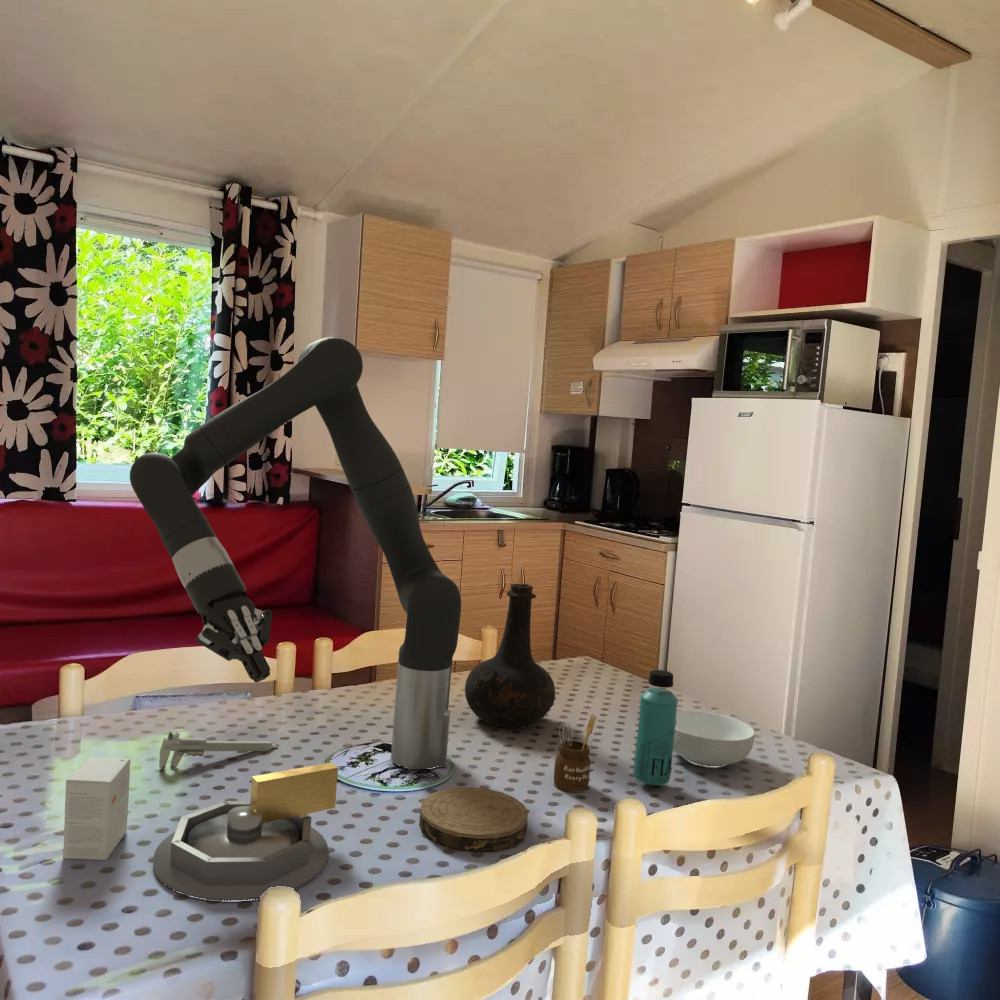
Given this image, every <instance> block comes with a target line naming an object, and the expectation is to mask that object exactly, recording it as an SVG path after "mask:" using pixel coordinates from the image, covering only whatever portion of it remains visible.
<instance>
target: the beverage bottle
mask: <svg viewBox="0 0 1000 1000" xmlns="http://www.w3.org/2000/svg"><path fill="white" fill-rule="evenodd" d="M647 682H648V684H649V685H651V686H653V687H652V688H648V689H647V690H645V691H644V692H643V693H641V695H640V704H639V705H640V706H639V714H638V715H639V718H638V727H637V728H638V729H637V735H636V740H635V747H634V749H635V751H634V757H633V776H634V778H635V779H636V780H637V781H639V782H641V783H643V784H648V785H650V786H662V785H666V784H668V783H669V782H670V779H671V776H672V770H673V767H672V765H673V753H674V752H673V744H674V738H675V737H674V733H675V732H676V730H675V723H676V711H678V710H677V707H678V702H679V700H678V698H677V696H676V695H675V694H674V693H673V692H672V691H671V690H667V688H673V687H674V674H673V672H671V671H667V670H663V669H652V670H650V672H649V678H648V681H647Z"/></svg>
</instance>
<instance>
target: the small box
mask: <svg viewBox="0 0 1000 1000" xmlns="http://www.w3.org/2000/svg"><path fill="white" fill-rule="evenodd" d="M130 773H131V758H124V757H106V756H105V757H104V756H102V757H101V756H88V757H87V758H86V759H85V760H84V761H83V762H82V763H81V764H80V765H79V766H78V768H76V770H75V771H74V772H73V773H72V774H71V775H70V776H69V777H68V778H67V779H66V780H65V802H64V803H65V806H64V825H63V826H64V829H63V850H62V851H63V852H62V854H63V855H62V858H63V859H65V860H66V859H67V860H72V859H73V860H93V861H107V860H108V858H109V857H110V855H111V854H112V853H113V852H114V850H115V848H116V847H117V845H119V843H120V841H121V840H122V838H123V837H124V836H125V834H126V833H127V830H128V816H129V815H128V814H129V812H128V811H129V795H130V794H129V793H130Z"/></svg>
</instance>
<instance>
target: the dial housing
mask: <svg viewBox="0 0 1000 1000" xmlns="http://www.w3.org/2000/svg"><path fill="white" fill-rule="evenodd" d="M250 801H251V800H250ZM250 801H249V800H242V801H241V800H224V801H221V802H218V803H216V804H215V803H214V804H213V805H210V806H207V807H205V808H202V809H200V810H197V811H195V812H192V813H188V814H186V815H183V816H181V817H180V820H179V822H178V825H177V827H176V829H175V831H173V832H172V833H171V834H169V835H168V836H166V837H165V838H164V839H163V840H162V841H161V842H159V844H158V845H157V847H156V849H155V850H154V854H153V858H152V864H153V865H152V866H153V867H152V869H153V872H154V875H155V877H156V878H157V880H158V879H159V880H160V881H161V882H162V883H163V884H165V885H166V886H168V887H170V888H171V889H174V890H175V891H178V892H181V893H184V894H186V895H189V896H190V895H191V896H194V897H198V898H203V899H204V898H205V899H207V900H208V899H209V900H211V899H212V900H220V901H222V900H224V901H225V900H227V901H228V900H230V901H231V900H244V899H245V900H248V899H249V900H250V899H255V900H256V899H258V901H260V900H259V899H260V896H261V895H262V894H263V893H264V892H265V891H266V890H267V889H268V888H270V887H276V886H286V887H291V888H294V889H296V890H298V889H301V888H303V887H304V886H306V885H308V884H309V883H311V882H312V881H313V880H315V879H316V878H317V877H318V876H320V874H321V873H322V872H323V870H324V869H325V868H326V865H327V863H328V858H329V846H328V843H327V840H326V839H325V838H324V836H323V835H322V834H321V833H320V832H319V831H318V830H316V829H315V828H314V827H312V816H309V814H304V815H300V816H295V817H290V818H286V819H288V820H289V821H291V822H292V823H293V824H294V825H295V826H296V827H297V829H298V832H299V837H298V842H297V843H295V844H293V845H291V846H288V847H286V848H284V849H282V850H280V851H277V852H275V853H273V854H271V855H268V856H266V857H248V858H211V857H210V856H208V855H206V854H204V853H202V852H200V851H198V850H197V849H195V848H193V847H191V846H189V845H187V843H188V835H189V833H190V831H191V830H192V829H193V828H194V827H195V826H196V825H198V824H199V823H201V822H203V821H205V820H207V819H209V818H212V817H215V816H218V815H222V814H227V813H228V812H229V811H230V810H231V809H233V808H236V807H239V806H250ZM159 880H158V881H159ZM160 881H159V882H160ZM161 882H160V883H161ZM162 883H161V884H162ZM163 884H162V885H163ZM166 886H165V887H166Z"/></svg>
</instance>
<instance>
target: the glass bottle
mask: <svg viewBox="0 0 1000 1000" xmlns="http://www.w3.org/2000/svg"><path fill="white" fill-rule="evenodd" d="M533 590H534V586H532V585H531V584H527V583H524V584H523V583H522V584H521V583H520V584H519V583H511V585H510V589H509V590H507V592H506V596H508V597H509V602H508V609H507V614H506V621H505V626H504V629H503V635H502V639H501V642H500V645H499V647H498V650H497V652H496V654H495V655H494V656H493V657H492V658H489V659H486V660H483V661H481V662H479V663H477V664H476V666H474V667H473V668H472V669H471V671H469V674H468V675H467V677H466V680H465V683H464V695H465V700H466V702H467V705H468V706H469V708H470V710H471V711H472V712H473V713H474V714H475V716H476V717H478V719H480V720H481V721H484V722H486V723H487V724H489V725H492V726H495V727H499V728H502V727H503V729H510V728H511V729H512V730H513V729H514V730H518V729H519V728H520V729H525V728H529V727H531V726H533V725H535V724H536V723H538V722H540V721H541V720H542V719H543V718H544V717H545V716H546V715H547V714H548V713H549V711H550V710H551V708H552V707H553V706H554V702H555V700H556V687H555V683H554V680H553V678H552V676H551V675H550V673H549V672H548V671H547V670H546V669H545V668H543V667H542V666H541V665H540V664H538V663H536V662H535V661H534V658H533V655H532V647H531V622H532V621H531V617H532V616H531V615H532V599H535V598H537V595H536V594H534V593H533Z"/></svg>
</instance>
